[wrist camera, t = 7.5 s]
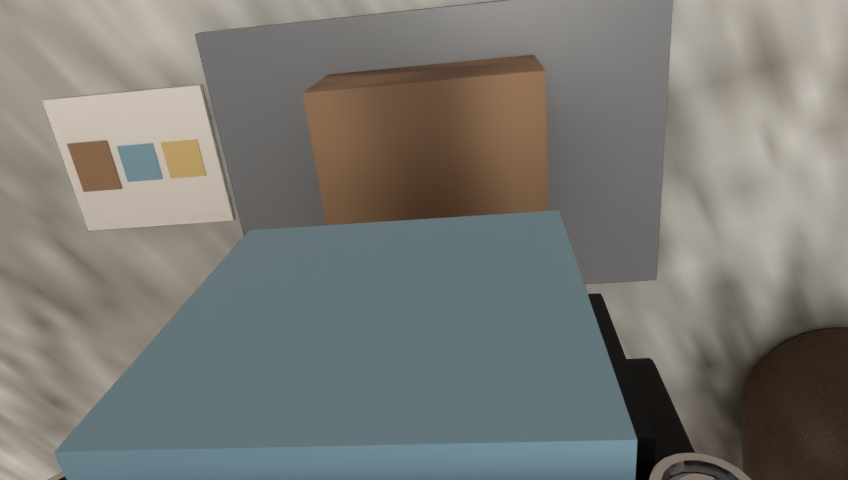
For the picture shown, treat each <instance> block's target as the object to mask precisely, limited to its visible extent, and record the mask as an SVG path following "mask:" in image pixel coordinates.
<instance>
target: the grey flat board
mask: <svg viewBox="0 0 848 480" xmlns="http://www.w3.org/2000/svg"><path fill="white" fill-rule="evenodd" d="M672 7H673V0H502V1H493V2H483V3H474V4H465V5H455V6H446V7H436V8H427V9H418V10H408V11H399V12H389V13H380V14H371V15H361V16H352V17H342V18H333V19H323V20H314V21H305V22H295V23H286V24H276V25H267V26H258V27H248V28H239V29H229V30H220V31H210V32H201V33H197V34H195V36H196V41H197V45H198V49H199V53H200V57H201V61H202V65H203V69H204V73H205V78H206V82H207V86H208V90H209V94H210V98H211V102H212V106H213V111H214V115H215V119H216V123H217V127H218V131H219V135H220V139H221V143H222V148H223V152H224V156H225V160H226V164H227V168H228V172H229V176H230V180H231V185H232V189H233V193H234V197H235V201H236V205H237V209H238V213H239V218H240V222H241V226H242V230H243V234H244V236H245V235H246V234H247V233H248V231H249V230H262V229H277V228H293V227H308V226H324V225H326V221H325V215H324V210H323V204H322V199H321V193H320V188H319V182H318V177H317V171H316V165H315V160H314V154H313V149H312V143H311V138H310V132H309V127H308V121H307V116H306V110H305V105H304V99H303V94H302V93H303V92H305V91H306V90H307V89H309V88H310V87H312V86H313V85H314V84H316V83H317V82H318V81H320V80H321V79H323V78H324V77H325V76H327V75H328V74H337V73H347V72H358V71H368V70H379V69H389V68H400V67H410V66H420V65H431V64H441V63H452V62H462V61H472V60H483V59H493V58H504V57H514V56H525V55H535V57H536V58H537V59H538V61H539V62H540V63H541V65H542V66H543V67H544V69H545V70H546V109H547V157H548V206H549V211H556V210H559V212H560V215H561V218H562V220H563V223H564V226H565V229H566V232H567V235H568V238H569V241H570V244H571V247H572V250H573V253H574V256H575V259H576V261H577V264H578V267H579V270H580V273H581V276H582V279H583V282H584V284H594V283H612V282H630V281H648V280H656V276H657V259H658V242H659V225H660V208H661V192H662V175H663V158H664V141H665V125H666V108H667V91H668V74H669V57H670V41H671V24H672Z"/></svg>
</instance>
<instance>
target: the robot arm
mask: <svg viewBox="0 0 848 480" xmlns="http://www.w3.org/2000/svg"><path fill="white" fill-rule="evenodd" d="M588 297H589V300H590V302H591V305H592V308H593V311H594V314H595V317H596V320H597V323H598V326H599V329H600V332H601V335H602V338H603V340H604V343H605V346H606V349H607V352H608V355H609V358H610V361H611V364H612V367H613V370H614V373H615V376H616V379H617V381H618V384H619V387H620V390H621V393H622V396H623V399H624V402H625V405H626V408H627V411H628V414H629V417H630V420H631V422H632V425H633V428H634V431H635V434H636V437H637V458H636V477H635V480H751V479H750V478H749V477H748V476H747V475H746V474H745V473H743V472H742V471H741V470H740V469H739V468H737V467H735V466H734V465H732V464H730V463H728V462H726V461H725V460H722V459H719V458H716V457H713V456H710V455H706V454H699V453H695V452H694V450H693V448H692V445H691V443H690V441H689V439H688V437H687V434H686V432H685V430H684V428H683V425H682V423H681V421H680V419H679V417H678V414H677V412H676V410H675V408H674V406H673V403H672V401H671V399H670V397H669V394H668V392H667V390H666V388H665V386H664V383H663V381H662V379H661V377H660V374H659V372H658V370H657V368H656V366H655V364H654V362H653V360H652V359H650V358H643V359H626V357H625V355H624V352H623V349H622V347H621V344H620V342H619V339H618V336H617V334H616V331H615V328H614V326H613V323H612V321H611V318H610V315H609V313H608V310H607V308H606V305H605V302H604V300H603V297H602V295H601V294H588ZM48 480H67V479H66V477H65V475H64V472H61V473H59V474H57V475H55V476H54V477H52V478H50V479H48Z"/></svg>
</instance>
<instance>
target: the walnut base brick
mask: <svg viewBox="0 0 848 480" xmlns="http://www.w3.org/2000/svg"><path fill="white" fill-rule="evenodd" d="M302 94H303V99H304V105H305V110H306V116H307V121H308V127H309V132H310V138H311V143H312V149H313V154H314V160H315V165H316V171H317V177H318V182H319V188H320V193H321V199H322V204H323V210H324V215H325V221H326V225H339V224H355V223H370V222H386V221H401V220H417V219H432V218H448V217H463V216H479V215H494V214H509V213H525V212H540V211H549V206H548V157H547V109H546V70H545V69H544V67H543V66H542V65H541V63H540V62H539V61H538V59H537V58H536V57H535V55H525V56H514V57H504V58H493V59H483V60H472V61H462V62H452V63H441V64H431V65H420V66H410V67H400V68H389V69H379V70H368V71H358V72H347V73H337V74H328V75H327V76H325V77H324V78H323V79H321V80H320V81H318V82H317V83H316V84H314V85H313V86H312V87H310V88H309V89H307V90H306V91H305V92H303V93H302Z"/></svg>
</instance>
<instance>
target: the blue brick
mask: <svg viewBox="0 0 848 480" xmlns="http://www.w3.org/2000/svg"><path fill="white" fill-rule="evenodd" d="M55 455H56V457H57V459H58V461H59V463H60V466H61V468H62V470H63V472H64V475H65V477H66V479H67V480H635V477H636V458H637V437H636V434H635V431H634V428H633V425H632V422H631V420H630V417H629V414H628V411H627V408H626V405H625V402H624V399H623V396H622V393H621V390H620V387H619V384H618V381H617V379H616V376H615V373H614V370H613V367H612V364H611V361H610V358H609V355H608V352H607V349H606V346H605V343H604V340H603V338H602V335H601V332H600V329H599V326H598V323H597V320H596V317H595V314H594V311H593V308H592V305H591V302H590V300H589V297H588V294H587V291H586V288H585V285H584V282H583V279H582V276H581V273H580V270H579V267H578V264H577V261H576V259H575V256H574V253H573V250H572V247H571V244H570V241H569V238H568V235H567V232H566V229H565V226H564V223H563V220H562V218H561V215H560V212H559V210H556V211H540V212H525V213H509V214H494V215H479V216H463V217H448V218H432V219H417V220H401V221H386V222H370V223H355V224H339V225H324V226H308V227H293V228H277V229H262V230H249V231H248V233H247V234H246V235H245V236H244V237H243V238H242V239H241V241H240V242H239V243H238V244H237V245H236V246H235V247H234V248H233V250H232V251H231V252H230V253H229V254H228V255H227V256H226V258H225V259H224V260H223V261H222V262H221V263H220V264H219V266H218V267H217V268H216V269H215V270H214V271H213V272H212V273H211V275H210V276H209V277H208V278H207V279H206V280H205V281H204V283H203V284H202V285H201V286H200V287H199V288H198V289H197V291H196V292H195V293H194V294H193V295H192V296H191V297H190V298H189V300H188V301H187V302H186V303H185V304H184V305H183V306H182V308H181V309H180V310H179V311H178V312H177V313H176V314H175V316H174V317H173V318H172V319H171V320H170V321H169V322H168V323H167V325H166V326H165V327H164V328H163V329H162V330H161V331H160V333H159V334H158V335H157V336H156V337H155V338H154V339H153V341H152V342H151V343H150V344H149V345H148V346H147V347H146V349H145V350H144V351H143V352H142V353H141V354H140V355H139V356H138V358H137V359H136V360H135V361H134V362H133V363H132V364H131V366H130V367H129V368H128V369H127V370H126V371H125V372H124V374H123V375H122V376H121V377H120V378H119V379H118V380H117V381H116V383H115V384H114V385H113V386H112V387H111V388H110V389H109V391H108V392H107V393H106V394H105V395H104V396H103V397H102V399H101V400H100V401H99V402H98V403H97V404H96V405H95V406H94V408H93V409H92V410H91V411H90V412H89V413H88V414H87V416H86V417H85V418H84V419H83V420H82V421H81V422H80V424H79V425H78V426H77V427H76V428H75V429H74V430H73V431H72V433H71V434H70V435H69V436H68V437H67V438H66V439H65V441H64V442H63V443H62V444H61V445H60V446H59V447H58V449H57V450H56V451H55Z"/></svg>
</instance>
